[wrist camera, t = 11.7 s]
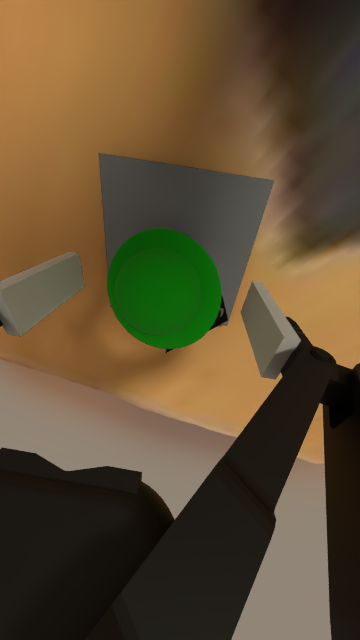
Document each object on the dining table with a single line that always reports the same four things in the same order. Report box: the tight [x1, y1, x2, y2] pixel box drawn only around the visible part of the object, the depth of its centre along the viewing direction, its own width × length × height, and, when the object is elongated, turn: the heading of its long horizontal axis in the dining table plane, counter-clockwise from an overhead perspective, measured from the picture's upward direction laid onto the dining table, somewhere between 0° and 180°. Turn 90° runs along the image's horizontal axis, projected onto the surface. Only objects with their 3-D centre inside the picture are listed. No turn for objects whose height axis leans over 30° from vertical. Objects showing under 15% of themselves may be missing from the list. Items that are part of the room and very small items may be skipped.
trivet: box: [99, 153, 274, 326], centre depth 24 cm, size 18×18×1 cm
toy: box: [107, 228, 228, 353], centre depth 18 cm, size 9×9×15 cm
